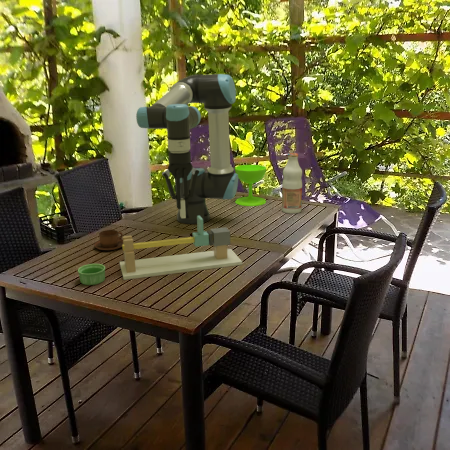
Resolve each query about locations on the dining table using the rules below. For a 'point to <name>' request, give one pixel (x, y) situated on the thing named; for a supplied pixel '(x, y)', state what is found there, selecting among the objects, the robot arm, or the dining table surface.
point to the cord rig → (178, 256)
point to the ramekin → (92, 274)
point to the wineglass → (250, 183)
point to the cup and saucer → (109, 240)
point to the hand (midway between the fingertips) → (182, 217)
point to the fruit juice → (292, 186)
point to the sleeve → (200, 234)
